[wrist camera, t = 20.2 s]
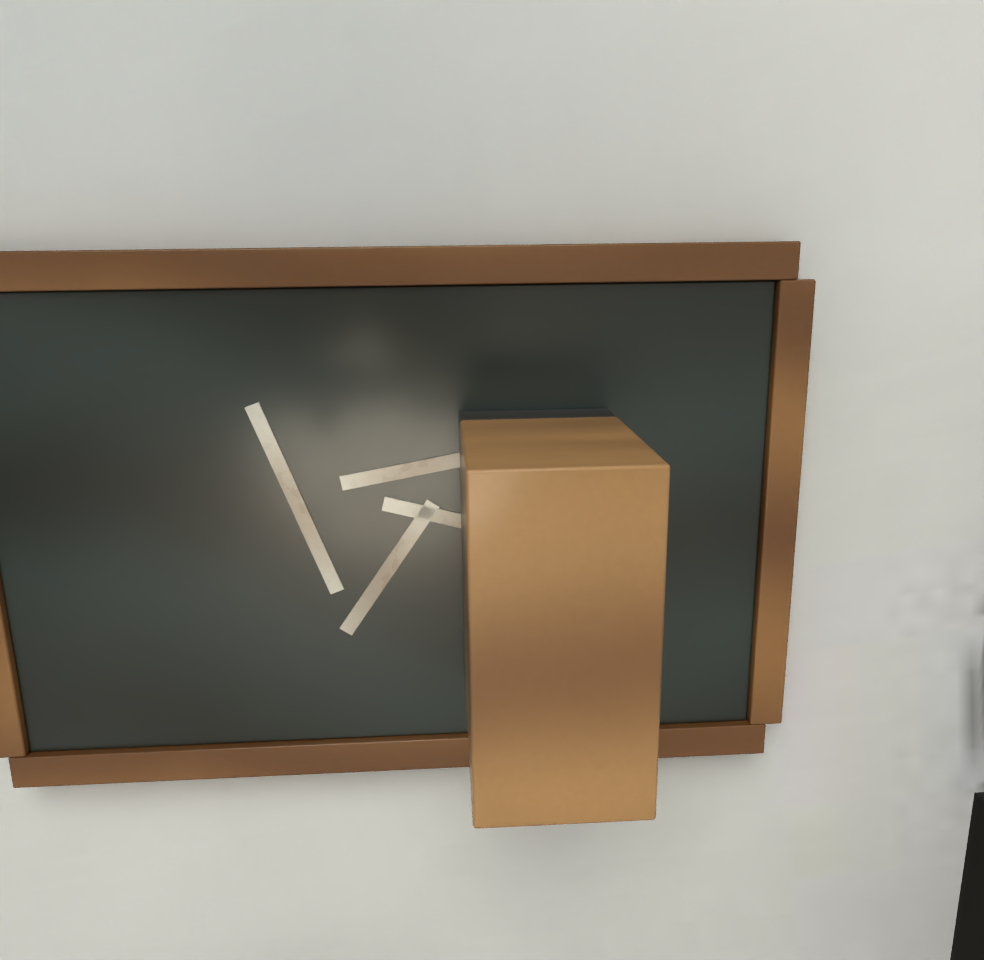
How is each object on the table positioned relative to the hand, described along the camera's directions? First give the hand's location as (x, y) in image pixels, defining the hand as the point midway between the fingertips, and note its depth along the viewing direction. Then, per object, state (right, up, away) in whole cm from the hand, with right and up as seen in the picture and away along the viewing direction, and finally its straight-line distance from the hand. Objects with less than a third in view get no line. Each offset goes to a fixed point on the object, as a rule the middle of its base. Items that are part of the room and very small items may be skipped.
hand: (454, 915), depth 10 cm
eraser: (+2, +3, +19) cm, 19 cm away
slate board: (-3, +4, +20) cm, 20 cm away
